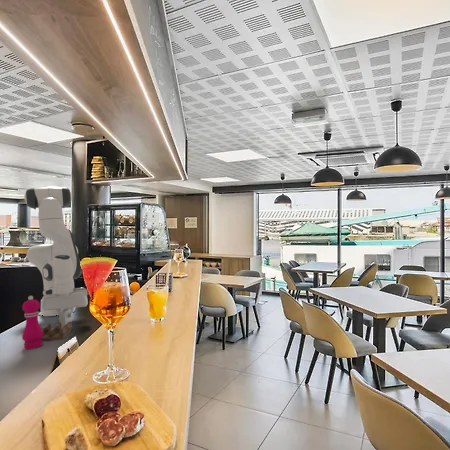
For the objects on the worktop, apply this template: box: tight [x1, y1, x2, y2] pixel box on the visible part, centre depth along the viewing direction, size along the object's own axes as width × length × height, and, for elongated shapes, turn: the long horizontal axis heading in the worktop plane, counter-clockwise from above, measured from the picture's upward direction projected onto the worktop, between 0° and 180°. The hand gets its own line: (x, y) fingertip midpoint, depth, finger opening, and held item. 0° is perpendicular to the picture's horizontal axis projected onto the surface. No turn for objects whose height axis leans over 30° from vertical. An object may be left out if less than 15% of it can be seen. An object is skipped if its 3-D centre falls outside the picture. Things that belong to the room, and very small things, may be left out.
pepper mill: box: [21, 295, 43, 350], centre depth 135 cm, size 7×7×20 cm
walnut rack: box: [40, 322, 74, 342], centre depth 148 cm, size 14×15×4 cm
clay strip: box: [58, 308, 73, 328], centre depth 164 cm, size 12×2×7 cm, turn 10°
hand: (65, 317), depth 164 cm, fingers closed on clay strip, 2 cm apart
